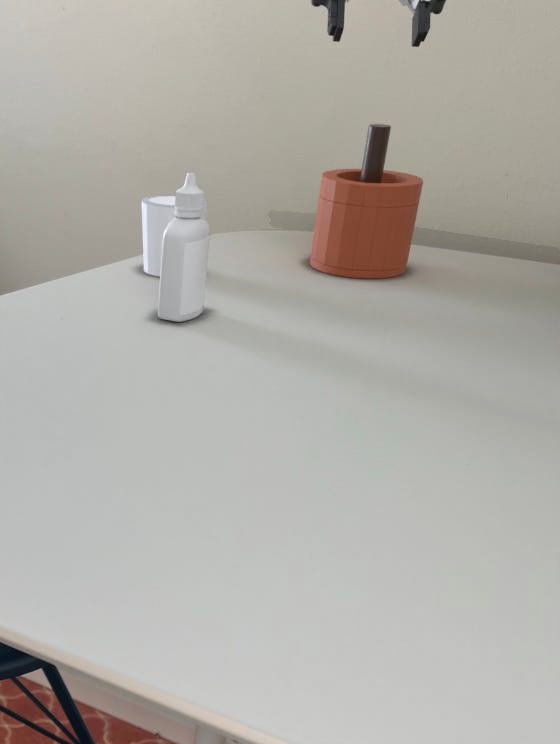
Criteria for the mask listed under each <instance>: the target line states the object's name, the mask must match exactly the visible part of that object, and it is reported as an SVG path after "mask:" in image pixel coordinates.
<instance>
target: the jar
mask: <svg viewBox="0 0 560 744" xmlns="http://www.w3.org/2000/svg"><path fill="white" fill-rule="evenodd" d="M361 171H362V168H341V169H340V168H339V169H332V170H327V171H323V172H322V173H321V174H322V175H321V180H320V186H319V187H320V188H319V194H318V202H317V209H316V216H315V223H314V230H313V236H312V242H311V243H312V244H311V250H310V260H309V265H310V266H311V267H312V268H313V269H314V270H316V271H319V272H321V273H325V274H328V275H332V276H339V277H344V278H351V279H352V278H353V279H368V280H369V279H374V280H375V279H376V280H377V279H389V278H394V277H398V276H401V275H403V274H404V273H405V272H406V269H407V264H408V261H409V257H410V256H409V255H410V250H411V246H412V240H413V237H414V236H413V235H414V231H415V227H416V226H415V225H416V220H417V215H418V211H419V210H418V209H419V204H420V200H421V195H422V191H423V184H424V180H423V179H422V177H419V176H418V175H414V174H410V173H407V172H401V171H395V170H386V169H384V170H383V176H382V182H381V183H365V182H360V177H361Z"/></svg>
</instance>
